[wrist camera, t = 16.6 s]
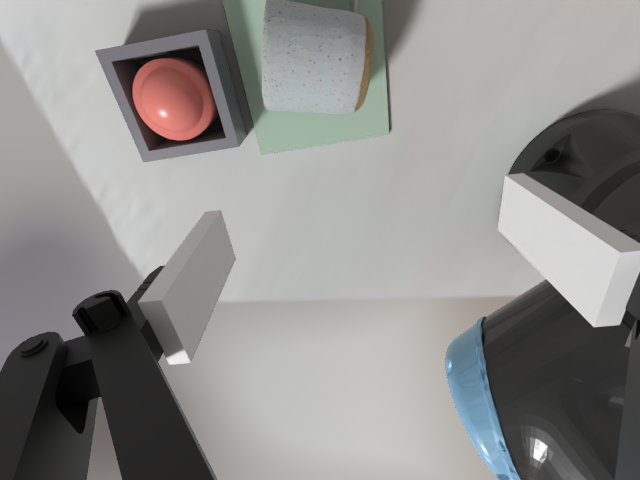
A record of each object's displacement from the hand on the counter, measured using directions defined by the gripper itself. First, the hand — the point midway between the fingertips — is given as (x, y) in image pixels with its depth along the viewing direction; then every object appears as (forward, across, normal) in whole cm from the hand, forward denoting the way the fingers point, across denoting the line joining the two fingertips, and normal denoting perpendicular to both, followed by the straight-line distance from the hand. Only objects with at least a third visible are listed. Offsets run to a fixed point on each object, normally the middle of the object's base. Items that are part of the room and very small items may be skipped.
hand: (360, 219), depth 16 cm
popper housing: (+20, +14, -5) cm, 25 cm away
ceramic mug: (+20, +2, -8) cm, 21 cm away
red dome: (+19, +14, -5) cm, 24 cm away
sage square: (+20, +2, -6) cm, 21 cm away
